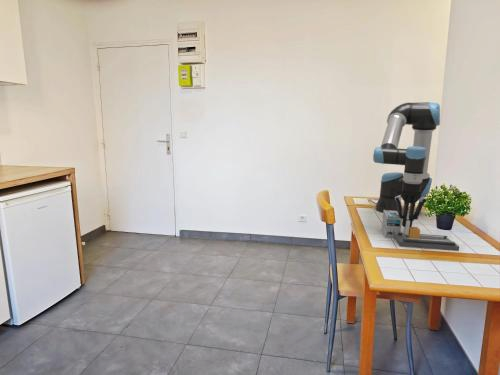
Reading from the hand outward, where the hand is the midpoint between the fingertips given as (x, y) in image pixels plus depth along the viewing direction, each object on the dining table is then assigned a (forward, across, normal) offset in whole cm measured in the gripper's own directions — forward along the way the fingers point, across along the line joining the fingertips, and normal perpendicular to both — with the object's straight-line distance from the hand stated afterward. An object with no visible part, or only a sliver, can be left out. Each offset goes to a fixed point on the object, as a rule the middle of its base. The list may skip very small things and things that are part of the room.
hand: (405, 233), depth 149 cm
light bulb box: (+5, -4, +10) cm, 12 cm away
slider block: (+2, +3, 0) cm, 4 cm away
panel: (+4, +8, 0) cm, 10 cm away
